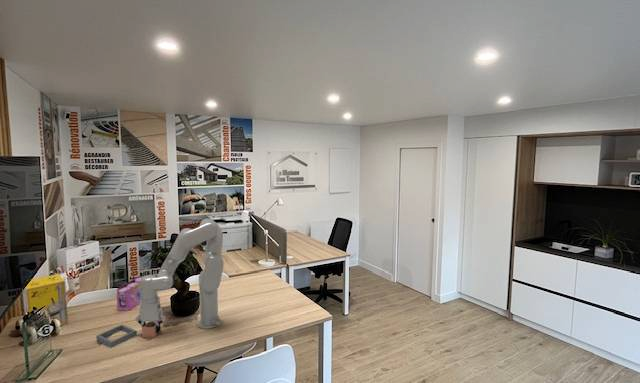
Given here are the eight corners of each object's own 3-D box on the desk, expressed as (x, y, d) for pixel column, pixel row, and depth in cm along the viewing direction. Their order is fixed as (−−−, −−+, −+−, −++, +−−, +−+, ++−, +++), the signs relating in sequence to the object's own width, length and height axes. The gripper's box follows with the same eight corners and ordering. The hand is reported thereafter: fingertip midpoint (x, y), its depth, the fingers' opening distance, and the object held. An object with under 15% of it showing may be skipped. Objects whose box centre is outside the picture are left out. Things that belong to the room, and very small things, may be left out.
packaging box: (68, 323, 188) (65, 281, 185) (30, 335, 176) (26, 289, 173) (61, 314, 199) (58, 273, 196) (25, 324, 187) (21, 281, 184)
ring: (161, 329, 181) (161, 320, 180) (154, 337, 173) (154, 328, 172) (149, 329, 181) (149, 320, 180) (142, 337, 173) (141, 328, 172)
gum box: (127, 312, 202) (126, 290, 201) (115, 311, 203) (114, 290, 202) (150, 295, 226) (149, 276, 225) (139, 295, 227) (138, 276, 225)
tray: (136, 336, 175) (136, 330, 175) (111, 349, 164) (110, 342, 163) (122, 330, 181) (121, 324, 181) (96, 342, 170) (96, 335, 170)
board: (164, 334, 178) (163, 321, 177) (148, 342, 170) (148, 329, 169) (153, 329, 182) (153, 317, 182) (138, 337, 174) (137, 324, 174)
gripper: (169, 296, 178) (171, 328, 180) (136, 296, 178) (138, 328, 180) (163, 302, 170) (164, 335, 172) (129, 302, 170) (131, 335, 172)
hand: (151, 331), depth 176 cm, fingers closed on ring, 6 cm apart
